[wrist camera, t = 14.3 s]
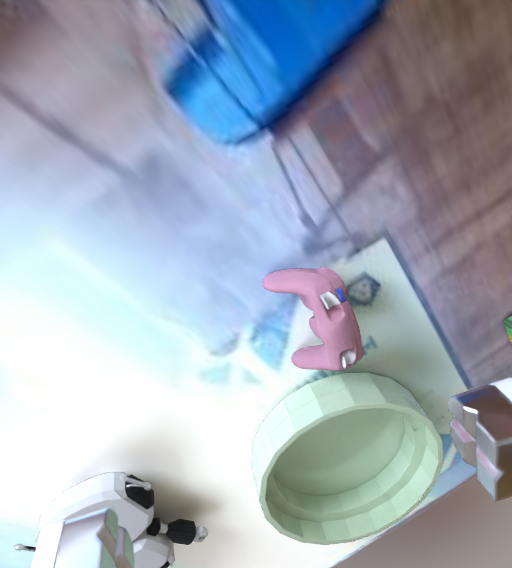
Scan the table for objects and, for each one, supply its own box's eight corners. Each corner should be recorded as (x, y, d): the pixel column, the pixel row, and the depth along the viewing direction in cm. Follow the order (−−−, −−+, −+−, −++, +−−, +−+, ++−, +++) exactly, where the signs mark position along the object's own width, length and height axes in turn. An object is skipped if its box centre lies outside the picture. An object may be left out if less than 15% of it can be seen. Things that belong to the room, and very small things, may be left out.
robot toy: (212, 507, 51) (118, 439, 44) (218, 547, 48) (117, 480, 40) (123, 564, 53) (16, 507, 45) (122, 607, 49) (5, 553, 41)
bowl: (411, 346, 46) (438, 378, 41) (423, 472, 54) (446, 510, 50) (230, 403, 44) (238, 442, 40) (271, 522, 53) (282, 565, 49)
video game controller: (323, 337, 45) (381, 363, 40) (289, 366, 43) (344, 397, 38) (293, 249, 40) (354, 264, 35) (254, 277, 39) (311, 297, 33)
